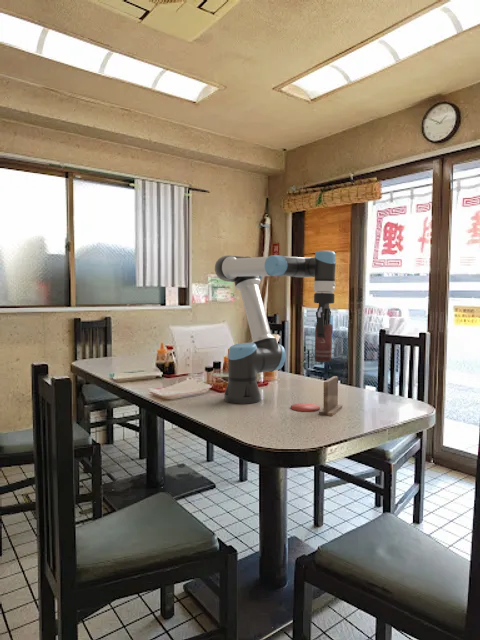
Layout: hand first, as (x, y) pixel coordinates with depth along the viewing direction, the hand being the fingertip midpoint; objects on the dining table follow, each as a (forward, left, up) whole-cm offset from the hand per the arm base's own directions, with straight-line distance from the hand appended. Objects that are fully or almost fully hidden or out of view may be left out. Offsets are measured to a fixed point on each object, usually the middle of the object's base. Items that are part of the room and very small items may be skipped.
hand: (322, 355), depth 167 cm
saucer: (-7, 0, -21) cm, 22 cm away
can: (0, 0, -2) cm, 2 cm away
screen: (+3, 0, -21) cm, 21 cm away
